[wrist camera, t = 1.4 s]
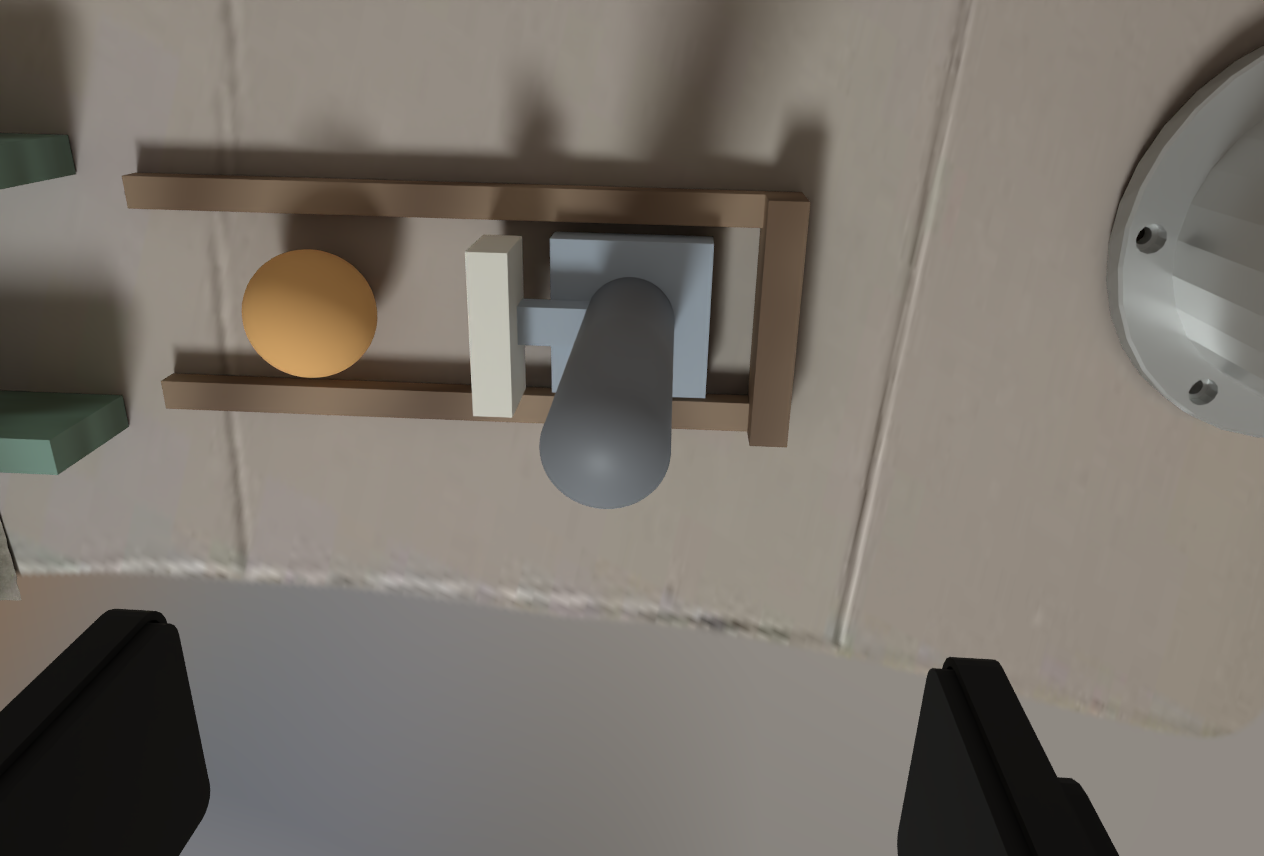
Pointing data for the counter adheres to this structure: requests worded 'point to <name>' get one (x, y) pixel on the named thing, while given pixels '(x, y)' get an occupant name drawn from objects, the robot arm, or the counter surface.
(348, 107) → the counter surface
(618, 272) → the kicker
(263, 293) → the ball
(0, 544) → the condiment
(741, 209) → the track
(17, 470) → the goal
